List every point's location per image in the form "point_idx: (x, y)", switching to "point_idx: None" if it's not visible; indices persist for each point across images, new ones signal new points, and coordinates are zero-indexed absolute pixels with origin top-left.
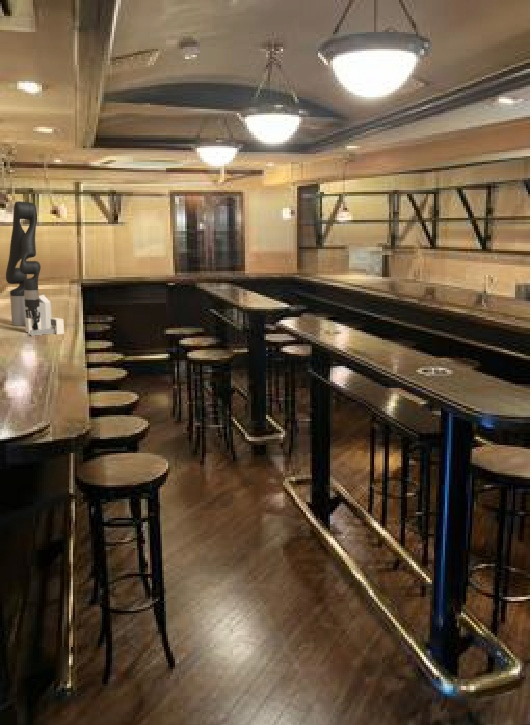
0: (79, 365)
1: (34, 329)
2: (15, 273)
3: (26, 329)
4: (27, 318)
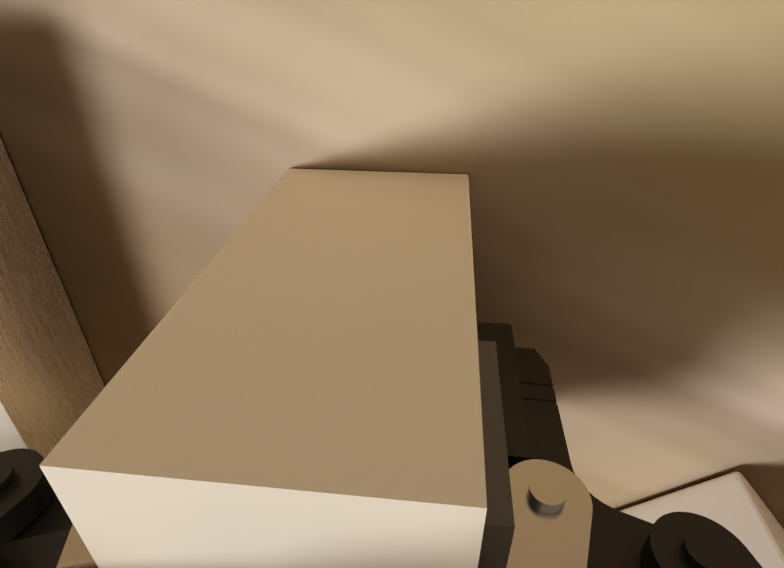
0: None
1: None
2: None
3: (429, 205)
4: (251, 508)
